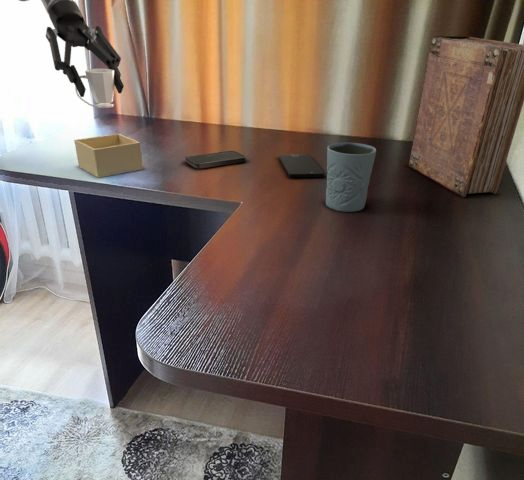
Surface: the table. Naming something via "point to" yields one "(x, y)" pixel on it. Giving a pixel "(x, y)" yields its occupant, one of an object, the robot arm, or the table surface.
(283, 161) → the cell phone
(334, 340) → the table surface
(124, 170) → the tan open box
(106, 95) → the cup
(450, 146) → the book
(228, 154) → the phone
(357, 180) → the grey embossed tumbler
